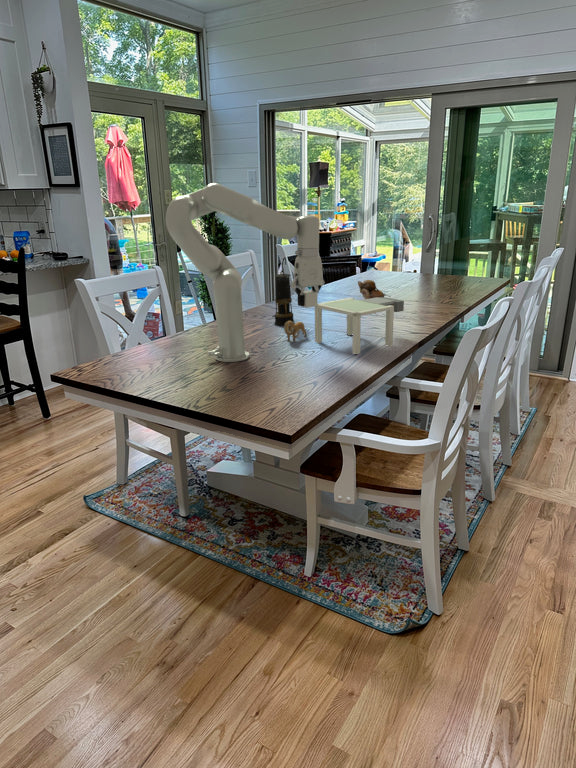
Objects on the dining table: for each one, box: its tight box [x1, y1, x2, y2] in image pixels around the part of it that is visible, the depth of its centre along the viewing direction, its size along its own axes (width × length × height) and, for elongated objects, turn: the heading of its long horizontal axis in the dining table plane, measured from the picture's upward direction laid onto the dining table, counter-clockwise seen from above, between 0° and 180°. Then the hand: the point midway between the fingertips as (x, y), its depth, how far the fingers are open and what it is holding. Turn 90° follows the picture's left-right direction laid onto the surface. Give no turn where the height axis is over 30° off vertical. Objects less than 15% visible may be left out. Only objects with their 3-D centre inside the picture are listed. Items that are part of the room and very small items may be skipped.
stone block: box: [297, 289, 319, 309], centre depth 193 cm, size 5×5×5 cm
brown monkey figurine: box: [357, 279, 392, 300], centre depth 293 cm, size 13×16×15 cm
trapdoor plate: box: [324, 296, 405, 313], centre depth 211 cm, size 29×19×4 cm
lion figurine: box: [283, 321, 308, 343], centre depth 220 cm, size 15×5×9 cm, turn 153°
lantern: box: [271, 257, 295, 327], centre depth 243 cm, size 9×9×30 cm
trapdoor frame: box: [314, 297, 395, 355], centre depth 209 cm, size 19×24×16 cm
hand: (307, 304), depth 194 cm, fingers closed on stone block, 5 cm apart
